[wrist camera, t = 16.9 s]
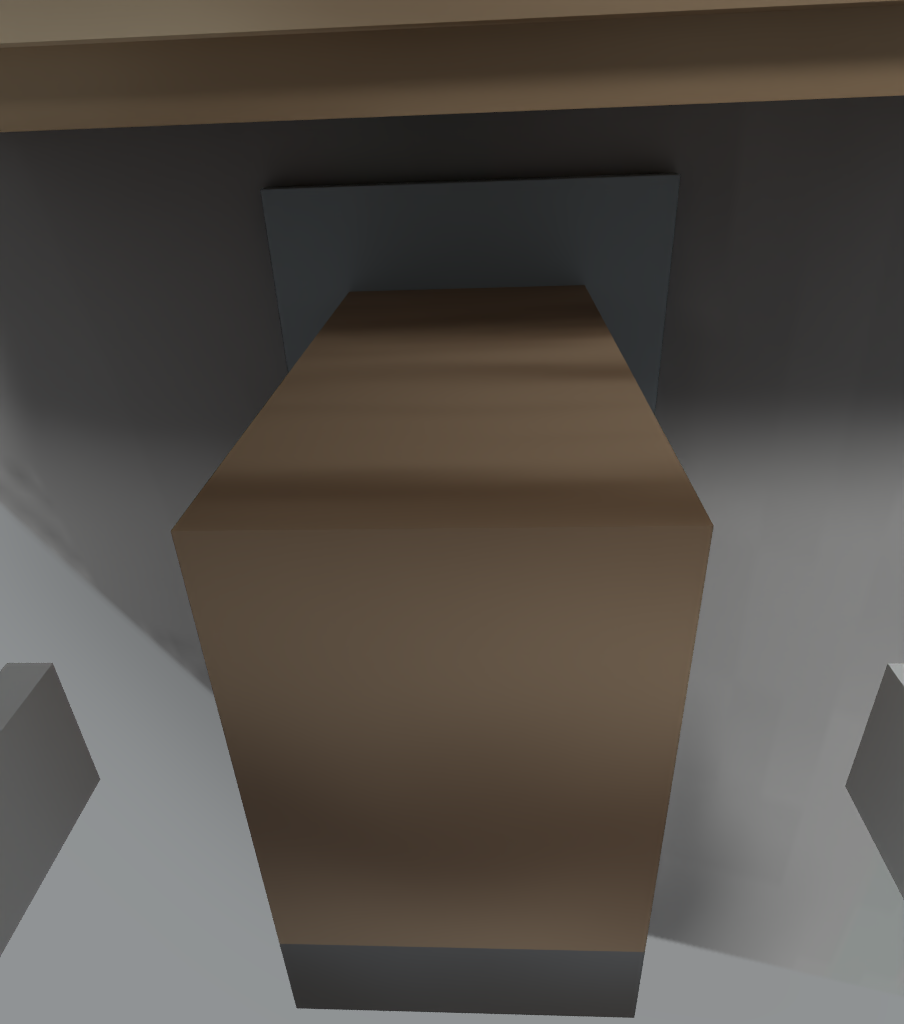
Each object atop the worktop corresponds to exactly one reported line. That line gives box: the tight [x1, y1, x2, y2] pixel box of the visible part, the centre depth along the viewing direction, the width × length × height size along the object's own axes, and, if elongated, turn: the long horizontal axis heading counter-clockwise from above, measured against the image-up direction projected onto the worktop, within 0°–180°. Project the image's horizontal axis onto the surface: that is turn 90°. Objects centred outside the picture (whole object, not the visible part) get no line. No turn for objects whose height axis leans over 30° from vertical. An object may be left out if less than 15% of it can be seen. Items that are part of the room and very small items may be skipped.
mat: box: [260, 173, 680, 416], centre depth 21 cm, size 15×10×1 cm, turn 2°
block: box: [171, 285, 713, 1018], centre depth 16 cm, size 10×6×12 cm, turn 2°
